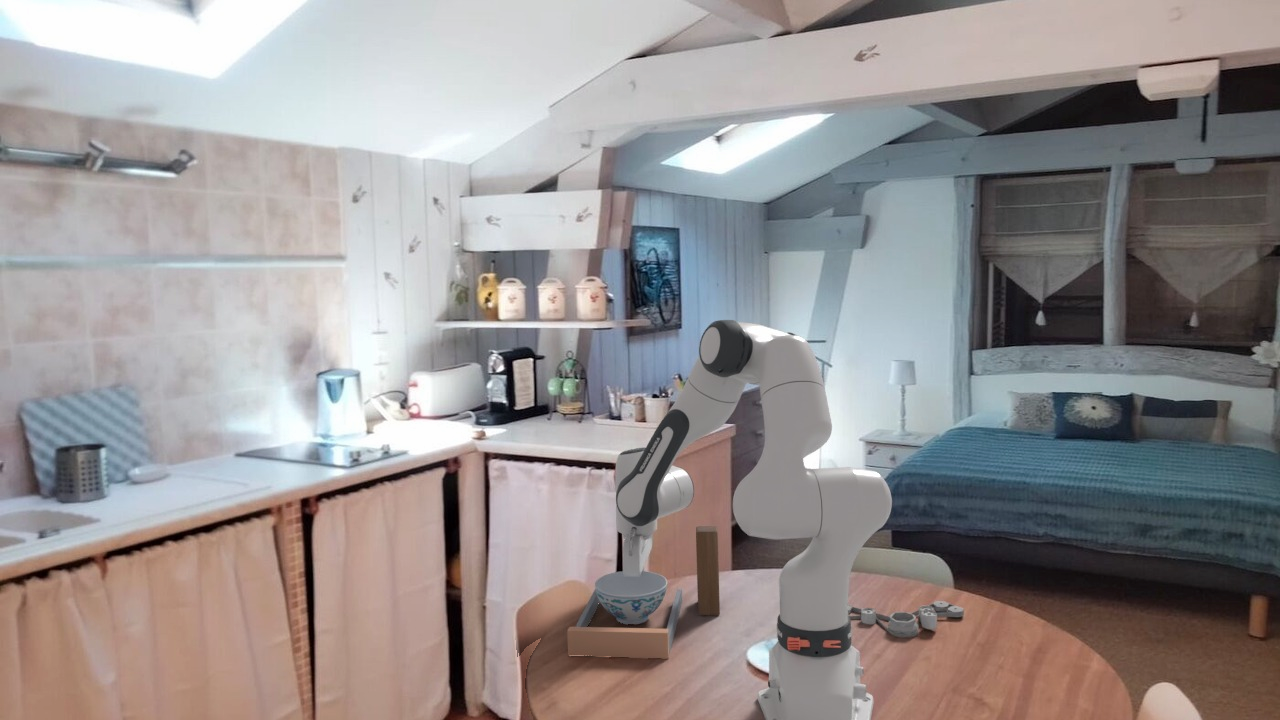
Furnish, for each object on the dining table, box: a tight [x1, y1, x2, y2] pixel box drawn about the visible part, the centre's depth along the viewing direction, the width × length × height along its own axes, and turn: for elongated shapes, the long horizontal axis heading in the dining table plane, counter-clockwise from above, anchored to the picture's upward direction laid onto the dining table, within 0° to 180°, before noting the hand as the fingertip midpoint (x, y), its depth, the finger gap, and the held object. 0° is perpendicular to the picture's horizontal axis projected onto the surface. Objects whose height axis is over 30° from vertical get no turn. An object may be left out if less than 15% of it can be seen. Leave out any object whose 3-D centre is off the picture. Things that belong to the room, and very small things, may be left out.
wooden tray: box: [566, 588, 683, 660], centre depth 184 cm, size 29×19×5 cm, turn 172°
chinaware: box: [594, 570, 668, 625], centre depth 189 cm, size 15×15×8 cm
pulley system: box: [848, 600, 965, 639], centre depth 183 cm, size 27×5×15 cm
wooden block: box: [695, 525, 721, 616], centre depth 193 cm, size 9×4×18 cm, turn 176°
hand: (638, 583), depth 199 cm, fingers closed
